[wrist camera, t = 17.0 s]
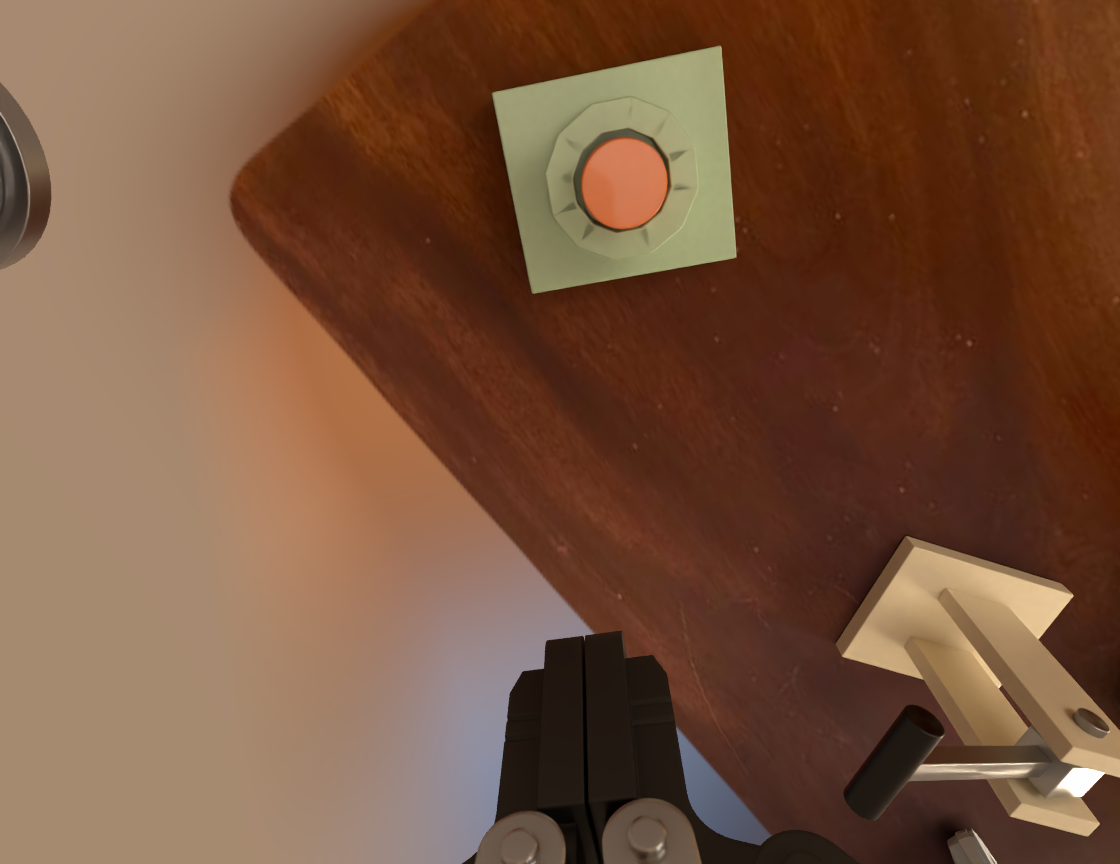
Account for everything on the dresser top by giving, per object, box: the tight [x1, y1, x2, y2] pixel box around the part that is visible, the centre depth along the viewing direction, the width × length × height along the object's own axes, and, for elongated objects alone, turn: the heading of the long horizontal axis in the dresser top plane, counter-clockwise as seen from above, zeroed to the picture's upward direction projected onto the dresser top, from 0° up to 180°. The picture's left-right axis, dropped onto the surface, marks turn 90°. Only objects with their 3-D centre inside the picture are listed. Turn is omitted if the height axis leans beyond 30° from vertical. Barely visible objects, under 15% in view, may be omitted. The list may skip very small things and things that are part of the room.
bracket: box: [836, 536, 1120, 836], centre depth 38 cm, size 11×9×13 cm
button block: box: [492, 46, 736, 294], centre depth 31 cm, size 10×9×4 cm
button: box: [581, 137, 668, 229], centre depth 29 cm, size 4×4×2 cm
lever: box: [844, 704, 1104, 821], centre depth 32 cm, size 13×6×2 cm, turn 72°
